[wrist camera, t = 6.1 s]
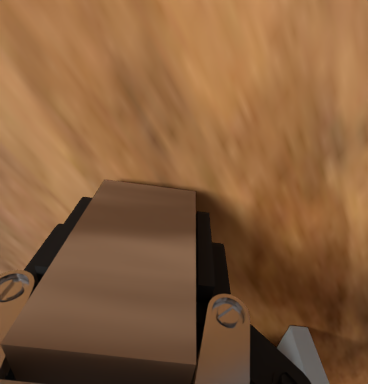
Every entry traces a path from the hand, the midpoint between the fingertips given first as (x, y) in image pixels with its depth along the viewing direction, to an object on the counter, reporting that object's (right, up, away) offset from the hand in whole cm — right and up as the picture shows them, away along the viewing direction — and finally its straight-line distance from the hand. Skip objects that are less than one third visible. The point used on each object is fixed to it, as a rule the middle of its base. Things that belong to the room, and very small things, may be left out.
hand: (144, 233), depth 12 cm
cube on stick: (-1, -6, +5) cm, 8 cm away
